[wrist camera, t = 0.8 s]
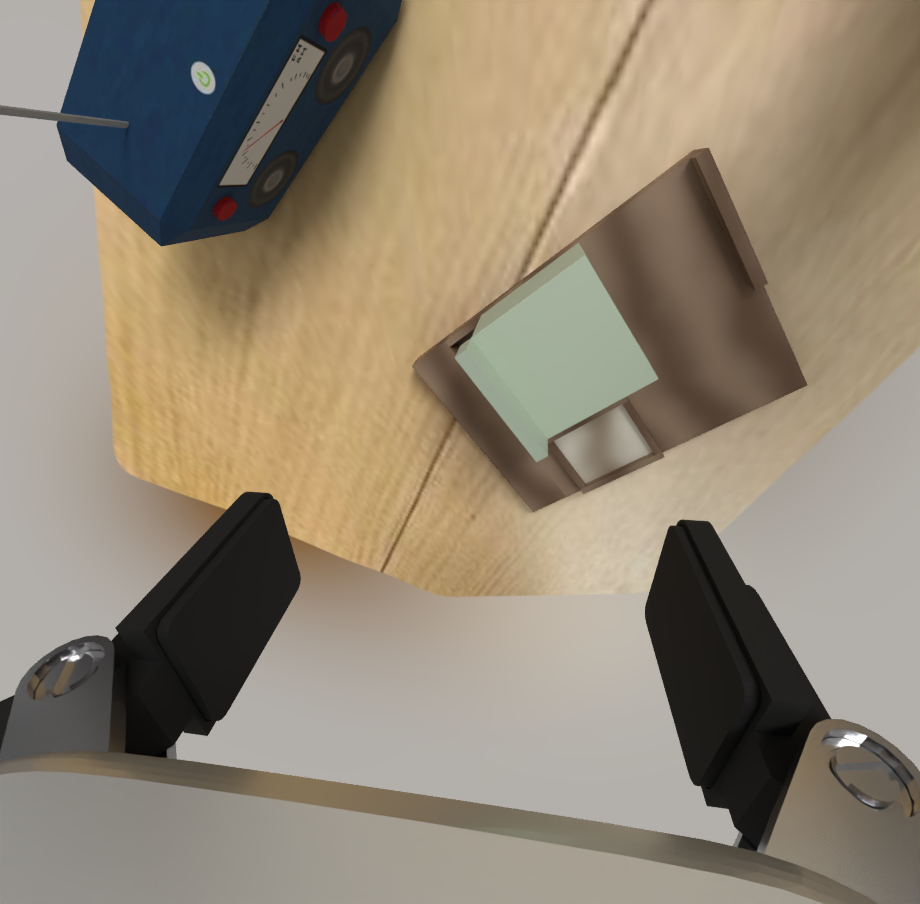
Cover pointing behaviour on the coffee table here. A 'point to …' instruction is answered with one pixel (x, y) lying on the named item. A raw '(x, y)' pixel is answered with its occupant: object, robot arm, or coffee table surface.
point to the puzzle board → (648, 339)
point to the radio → (209, 103)
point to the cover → (554, 353)
